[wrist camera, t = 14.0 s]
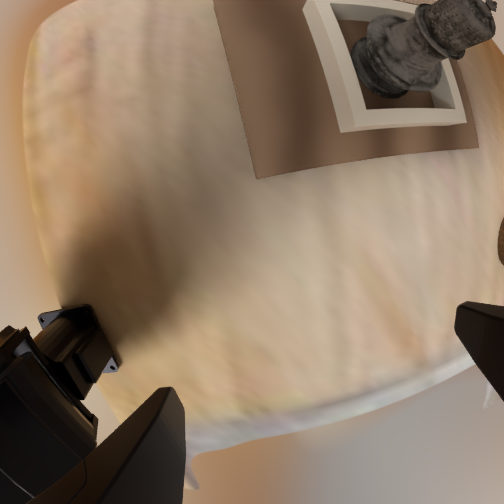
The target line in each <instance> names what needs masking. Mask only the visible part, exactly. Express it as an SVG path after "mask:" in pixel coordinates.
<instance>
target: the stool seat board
mask: <svg viewBox="0 0 504 504" xmlns="http://www.w3.org/2000/svg"><path fill="white" fill-rule="evenodd" d="M213 2H214V10H215V13H216V17H217V21H218V25H219V28H220V32H221V36H222V40H223V44H224V48H225V51H226V55H227V59H228V63H229V67H230V71H231V75H232V79H233V83H234V87H235V91H236V95H237V99H238V103H239V107H240V112H241V116H242V120H243V124H244V128H245V132H246V137H247V141H248V145H249V149H250V154H251V158H252V162H253V167H254V171H255V175H256V179H260V178H265V177H270V176H275V175H279V174H284V173H289V172H294V171H300V170H305V169H310V168H316V167H321V166H327V165H333V164H339V163H345V162H352V161H358V160H365V159H372V158H379V157H387V156H395V155H403V154H412V153H421V152H432V151H443V150H456V149H471V148H479V144H478V138H477V133H476V128H475V123H474V119H473V114H472V110H471V106H470V102H469V98H468V95H467V91H466V88H465V84H464V81H463V78H462V75H461V72H460V69H459V66H458V63H457V60H453V59H450V58H447V59H444V60H442V61H441V66H442V71H441V78H440V81H439V84H438V85H437V86H436V87H435V88H434V89H432V90H430V91H428V92H415V91H411V90H409V91H408V92H407V93H406V94H405V95H404V96H402V97H400V98H395V99H389V98H384V97H381V96H379V95H377V94H374V93H373V92H372V91H370V90H369V89H368V88H366V87H365V86H364V85H363V83H362V82H361V81H360V80H359V79H358V77H357V75H356V72H355V69H354V66H353V63H352V60H351V57H350V54H351V49H352V47H353V45H354V44H355V42H357V41H358V40H359V39H361V38H364V37H366V33H367V27H368V25H369V23H370V22H371V20H372V19H374V18H375V17H377V16H379V15H384V14H390V15H396V16H399V17H402V18H405V19H407V20H409V19H411V18H412V17H413V16H415V9H416V7H417V6H419V5H416V4H412V3H408V2H403V1H398V0H213Z"/></svg>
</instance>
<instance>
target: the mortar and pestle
mask: <svg viewBox="0 0 504 504" xmlns="http://www.w3.org/2000/svg"><path fill="white" fill-rule="evenodd" d="M498 255H499V259H500V261H501V263H502V264H503V265H504V219H503V221H502V224H501V227H500V231H499V237H498Z"/></svg>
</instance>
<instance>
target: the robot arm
mask: <svg viewBox="0 0 504 504" xmlns="http://www.w3.org/2000/svg"><path fill="white" fill-rule="evenodd" d="M85 309H87V310H88V312H86V310H85ZM42 318H43V319H44V320H43V319H42ZM38 320H39V323H40V325H41V327H42V329H43V330H42V331H41V332H40V333H39V334H38V335H37V336H36V337H35V338H34V339H32V337H31V336H30V332H29V330H28V329H27V327H24V328H23V329H21V330H19V329H14V328H12V327H11V326H7V327H6V328H4V329H3V330H2V331H1V332H0V504H182V501H183V500H182V499H183V487H184V474H185V462H186V440H185V411H184V407H183V405H182V403H181V401H180V399H179V397H178V395H177V393H176V391H175V390H174V388H173V387H162V388H158V389H157V390H156V391H155V392H154V393H153V394H152V395H151V396H150V397H149V398H148V399H147V400H146V401H145V402H144V403H143V404H142V405H141V406H140V407H139V408H138V409H137V410H136V411H135V412H134V413H132V414H131V415H130V416H129V417H128V418H127V419H126V420H125V421H124V422H123V423H122V424H121V425H120V426H119V427H118V428H117V429H116V430H115V431H114V432H113V433H112V434H111V435H109V436H108V437H107V438H106V439H105V440H104V441H103V442H102V443H101V444H100V445H99V446H98V447H97V442H96V437H97V427H98V418H97V417H96V416H95V415H94V414H92V413H91V412H90V411H89V410H88V409H87V408H86V407H85V406H84V405H83V404H82V403H81V401H80V400H84V399H85V398H86V396H87V394H88V392H89V391H90V389H91V387H92V385H93V384H94V383H97V381H98V379H99V377H100V376H101V374H102V373H112V372H117V371H118V369H119V364H118V363H117V361H116V359H115V357H114V355H113V352H112V350H111V348H110V346H109V344H108V341H107V339H106V337H105V335H104V333H103V331H102V329H101V327H100V325H99V323H98V321H97V318H96V316H95V314H94V311H93V309H92V307H91V306H90V305H88V304H84V305H79V306H74V307H69V308H64V309H60V310H55V311H50V312H45V313H41V314H40V315H39V316H38ZM454 329H455V333H456V335H457V336H458V337H459V339H460V340H461V342H462V343H463V345H464V347H465V348H466V350H467V351H468V353H469V354H470V356H471V357H472V359H473V361H474V362H475V364H476V365H477V366H478V368H479V369H480V370H481V372H482V373H483V374H484V375H485V377H486V378H487V380H488V381H489V382H490V384H491V385H492V386H493V388H494V389H495V390H496V392H497V393H498V395H499V396H500V397H501V399H502V400H503V401H504V306H498V305H491V304H484V303H477V302H470V301H466V302H464V303H462V304H460V305H459V306H458V307H457V310H456V318H455V325H454ZM113 366H114V367H113Z"/></svg>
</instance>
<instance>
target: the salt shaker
mask: <svg viewBox="0 0 504 504" xmlns="http://www.w3.org/2000/svg"><path fill="white" fill-rule="evenodd" d="M496 5H497V3H496V2H495V1H492V0H486V2H485V3H484V2H483V1H482V0H438V1H437V2H435V3H434V4H432V5H430V4H420V5H419V6H417V7H416V9H415V16H413V17H412V18H411V19H409V20H407V19H405V18H402V17H399V16H396V15H390V14H384V15H379V16H377V17H375V18H374V19H372V20H371V22H370V23H369V25H368V27H367V33H366V37H364V38H361V39H359V40H358V41H357V42H355V44H354V45H353V47H352V49H351V54H350V57H351V60H352V63H353V66H354V69H355V72H356V75H357V77H358V79H359V80H360V81H361V82H362V83H363V85H364V86H365V87H366V88H368V89H369V90H370V91H372V92H373V93H374V94H377V95H379V96H381V97H384V98H389V99H395V98H400V97H402V96H404V95H405V94H406V93H407V92H408V91H409V90H411V91H415V92H428V91H430V90H432V89H434V88H435V87H436V86H437V85H438V84H439V81H440V78H441V71H442V66H441V61H442V60H444V59H447V58H450V59H453V60H458V59H461V58H462V57H463V56H464V54H465V49H467V48H469V47H472V46H474V45H477V44H479V43H482V42H484V41H487V40H490V39H491V38H492V37H493V36H494V34H495V29H496V27H495V22H494V19H493V16H492V13H491V10H492V11H495V12H496V8H497V6H496Z"/></svg>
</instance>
